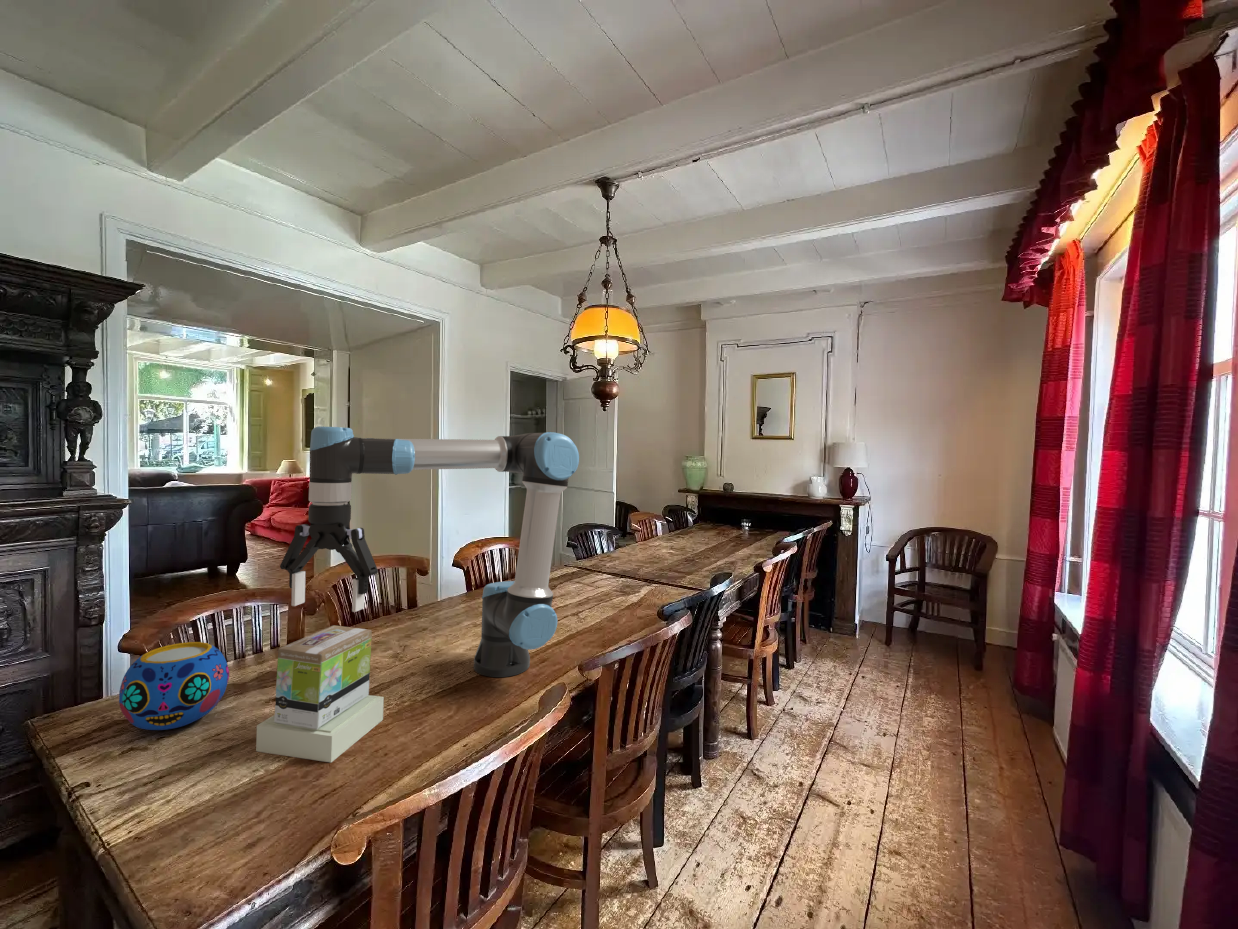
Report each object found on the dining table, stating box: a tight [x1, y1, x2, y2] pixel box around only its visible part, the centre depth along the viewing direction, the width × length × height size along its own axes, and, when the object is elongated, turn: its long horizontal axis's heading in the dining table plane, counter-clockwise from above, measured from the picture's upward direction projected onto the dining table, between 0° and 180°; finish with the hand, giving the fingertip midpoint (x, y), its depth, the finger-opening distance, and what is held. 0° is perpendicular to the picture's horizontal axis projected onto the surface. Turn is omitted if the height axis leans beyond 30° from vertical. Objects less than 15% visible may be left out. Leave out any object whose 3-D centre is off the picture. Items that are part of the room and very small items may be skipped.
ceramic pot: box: [118, 641, 230, 731], centre depth 108 cm, size 18×18×15 cm
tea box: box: [274, 625, 373, 730], centre depth 106 cm, size 15×10×15 cm, turn 169°
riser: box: [255, 694, 385, 763], centre depth 106 cm, size 16×16×5 cm
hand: (327, 607), depth 106 cm, fingers open, 13 cm apart
